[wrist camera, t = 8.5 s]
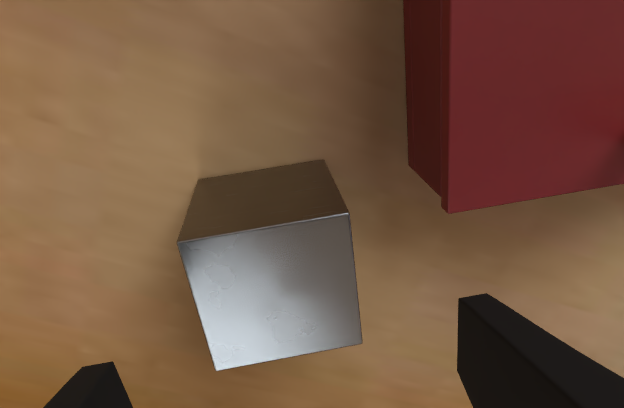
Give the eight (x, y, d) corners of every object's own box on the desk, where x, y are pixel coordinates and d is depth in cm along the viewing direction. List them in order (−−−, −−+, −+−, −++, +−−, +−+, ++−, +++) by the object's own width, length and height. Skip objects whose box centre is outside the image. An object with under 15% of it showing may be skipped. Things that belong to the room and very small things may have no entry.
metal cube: (336, 264, 16) (362, 344, 12) (224, 284, 16) (215, 372, 12) (324, 158, 14) (349, 212, 10) (197, 179, 14) (175, 242, 10)
